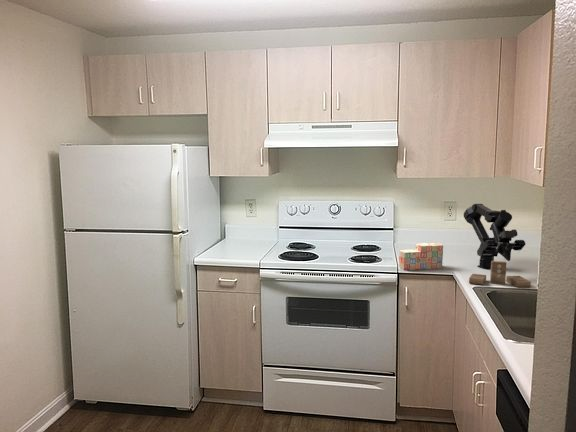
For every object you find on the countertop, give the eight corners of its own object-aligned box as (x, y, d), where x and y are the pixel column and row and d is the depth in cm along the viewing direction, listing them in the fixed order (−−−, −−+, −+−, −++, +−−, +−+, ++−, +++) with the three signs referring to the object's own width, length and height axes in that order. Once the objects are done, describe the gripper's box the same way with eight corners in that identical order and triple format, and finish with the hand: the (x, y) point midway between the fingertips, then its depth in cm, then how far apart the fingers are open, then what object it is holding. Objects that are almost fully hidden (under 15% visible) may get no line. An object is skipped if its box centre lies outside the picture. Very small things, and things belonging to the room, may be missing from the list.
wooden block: (472, 273, 227) (469, 277, 219) (486, 275, 224) (483, 279, 216) (472, 279, 228) (469, 283, 219) (485, 280, 225) (483, 285, 216)
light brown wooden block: (490, 282, 222) (491, 260, 220) (504, 282, 220) (505, 261, 219) (491, 283, 219) (492, 262, 218) (505, 284, 218) (506, 262, 216)
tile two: (506, 275, 222) (517, 281, 212) (519, 275, 223) (530, 281, 213) (506, 281, 223) (517, 287, 213) (518, 281, 223) (530, 287, 213)
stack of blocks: (403, 270, 244) (404, 246, 242) (398, 267, 250) (399, 244, 248) (442, 268, 248) (443, 244, 246) (436, 265, 254) (437, 242, 252)
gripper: (486, 223, 228) (496, 251, 219) (525, 223, 229) (536, 251, 219) (478, 236, 237) (487, 264, 228) (515, 236, 238) (525, 263, 229)
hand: (509, 260), depth 226 cm, fingers closed
